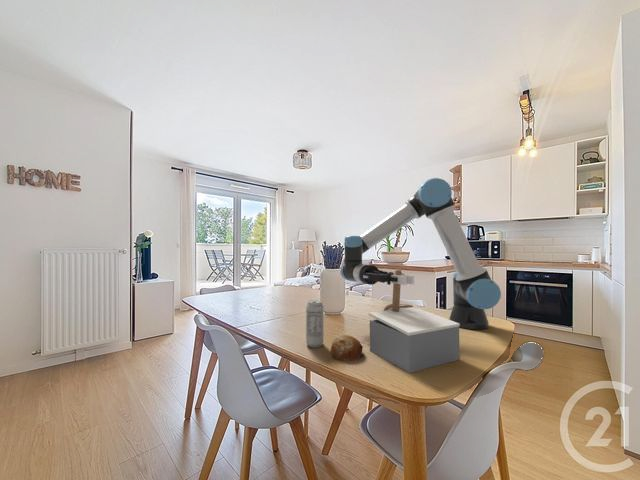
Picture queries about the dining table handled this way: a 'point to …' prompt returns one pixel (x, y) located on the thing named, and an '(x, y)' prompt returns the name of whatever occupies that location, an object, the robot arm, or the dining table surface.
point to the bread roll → (346, 348)
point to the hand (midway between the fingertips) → (409, 280)
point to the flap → (411, 316)
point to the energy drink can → (314, 323)
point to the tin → (389, 307)
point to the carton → (414, 346)
